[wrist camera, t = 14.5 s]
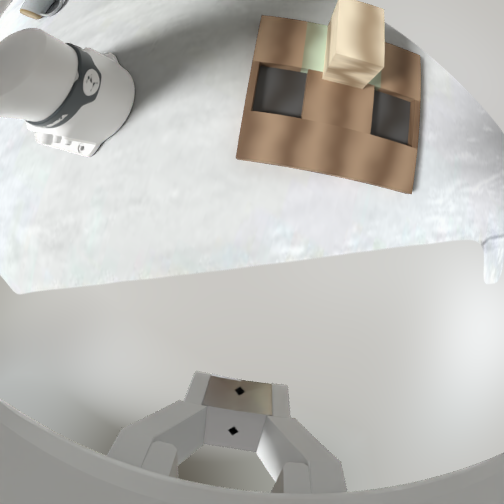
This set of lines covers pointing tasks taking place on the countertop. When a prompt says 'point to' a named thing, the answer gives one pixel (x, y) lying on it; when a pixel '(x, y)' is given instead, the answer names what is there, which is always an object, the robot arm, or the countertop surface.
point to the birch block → (354, 44)
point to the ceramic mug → (38, 8)
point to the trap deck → (329, 110)
